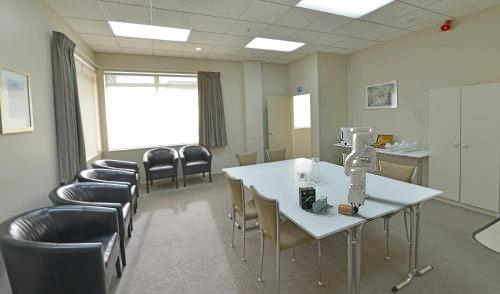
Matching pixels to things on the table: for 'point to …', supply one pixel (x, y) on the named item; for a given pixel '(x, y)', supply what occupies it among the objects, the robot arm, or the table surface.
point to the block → (345, 209)
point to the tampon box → (307, 197)
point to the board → (319, 204)
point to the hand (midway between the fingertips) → (355, 212)
